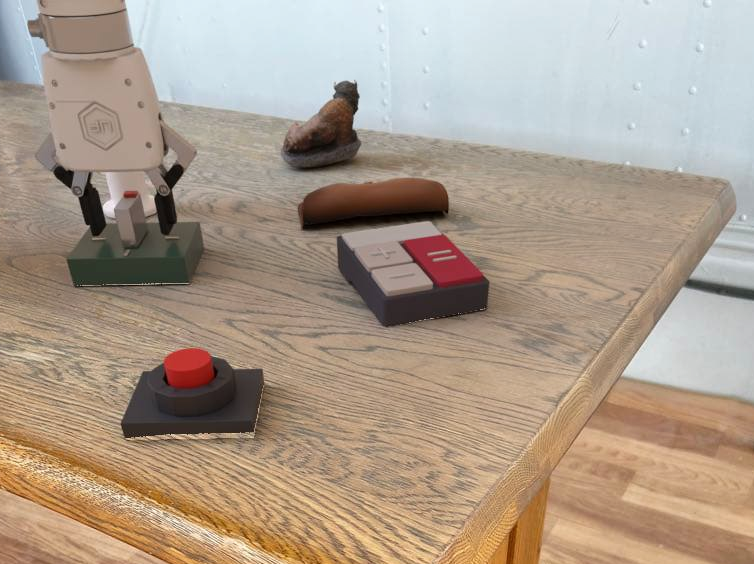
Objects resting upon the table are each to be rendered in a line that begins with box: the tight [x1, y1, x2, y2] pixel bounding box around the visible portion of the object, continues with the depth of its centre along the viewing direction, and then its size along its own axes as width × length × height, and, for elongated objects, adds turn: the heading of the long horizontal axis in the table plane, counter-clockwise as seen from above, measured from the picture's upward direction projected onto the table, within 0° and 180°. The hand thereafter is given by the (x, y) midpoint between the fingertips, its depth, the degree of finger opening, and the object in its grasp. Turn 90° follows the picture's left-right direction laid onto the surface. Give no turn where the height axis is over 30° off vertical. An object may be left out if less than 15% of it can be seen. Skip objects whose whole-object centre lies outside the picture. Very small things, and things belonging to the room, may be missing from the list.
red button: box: [163, 347, 215, 389], centre depth 63 cm, size 4×4×2 cm
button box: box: [120, 355, 265, 439], centre depth 64 cm, size 10×8×4 cm
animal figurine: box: [279, 79, 362, 168], centre depth 112 cm, size 12×7×10 cm, turn 117°
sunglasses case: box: [297, 177, 450, 229], centre depth 98 cm, size 18×7×7 cm
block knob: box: [114, 191, 148, 248], centre depth 84 cm, size 5×2×4 cm, turn 1°
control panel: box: [66, 221, 205, 287], centre depth 87 cm, size 12×10×3 cm
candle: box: [102, 171, 157, 220], centre depth 93 cm, size 7×7×25 cm
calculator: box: [336, 220, 490, 328], centre depth 82 cm, size 11×4×15 cm
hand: (133, 229), depth 85 cm, fingers open, 6 cm apart
